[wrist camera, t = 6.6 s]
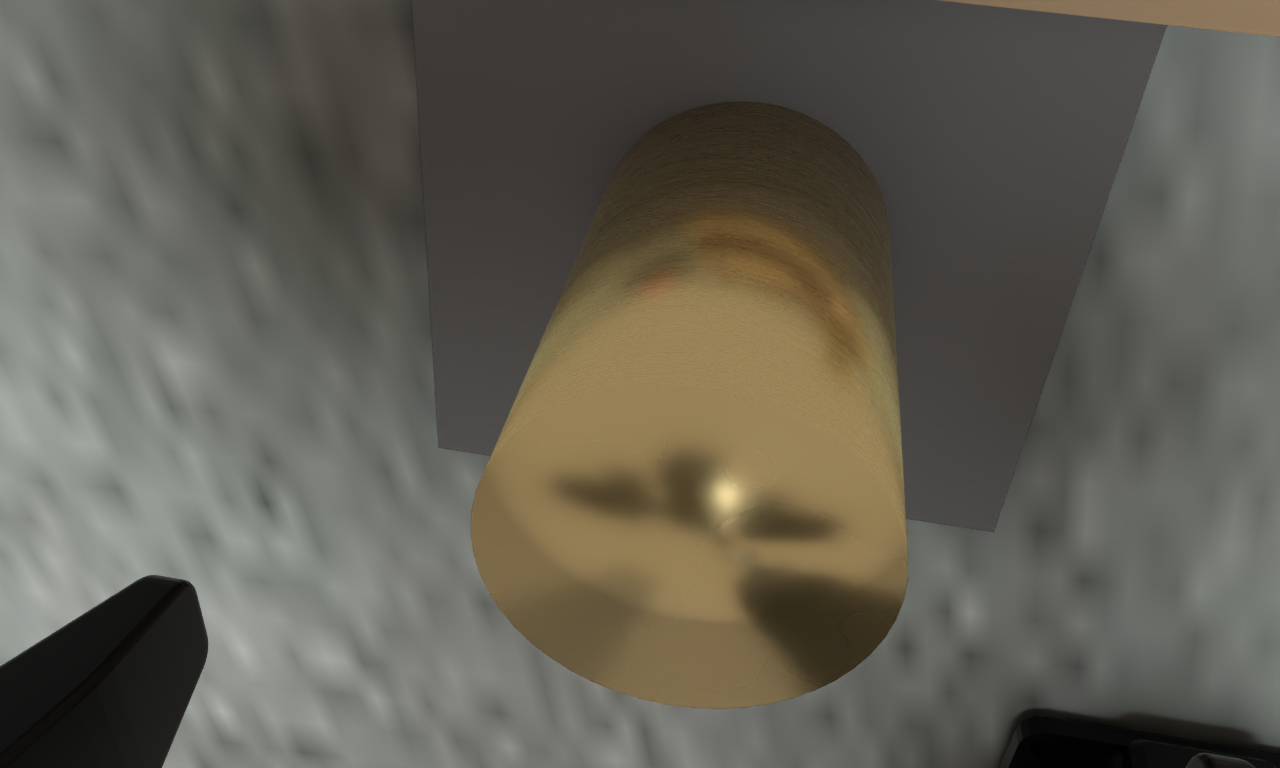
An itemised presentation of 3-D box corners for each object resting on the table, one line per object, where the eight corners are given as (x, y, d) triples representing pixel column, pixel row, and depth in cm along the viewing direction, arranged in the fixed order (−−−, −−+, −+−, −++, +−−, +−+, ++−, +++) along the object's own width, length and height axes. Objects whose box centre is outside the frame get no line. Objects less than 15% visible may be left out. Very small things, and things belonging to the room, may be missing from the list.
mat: (991, 516, 19) (993, 531, 19) (445, 434, 20) (438, 447, 20) (1191, -79, 14) (1200, -72, 13) (412, -156, 15) (402, -151, 14)
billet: (861, 379, 18) (863, 738, 12) (594, 341, 18) (477, 671, 12) (918, 121, 15) (955, 423, 10) (605, 83, 16) (463, 353, 10)
